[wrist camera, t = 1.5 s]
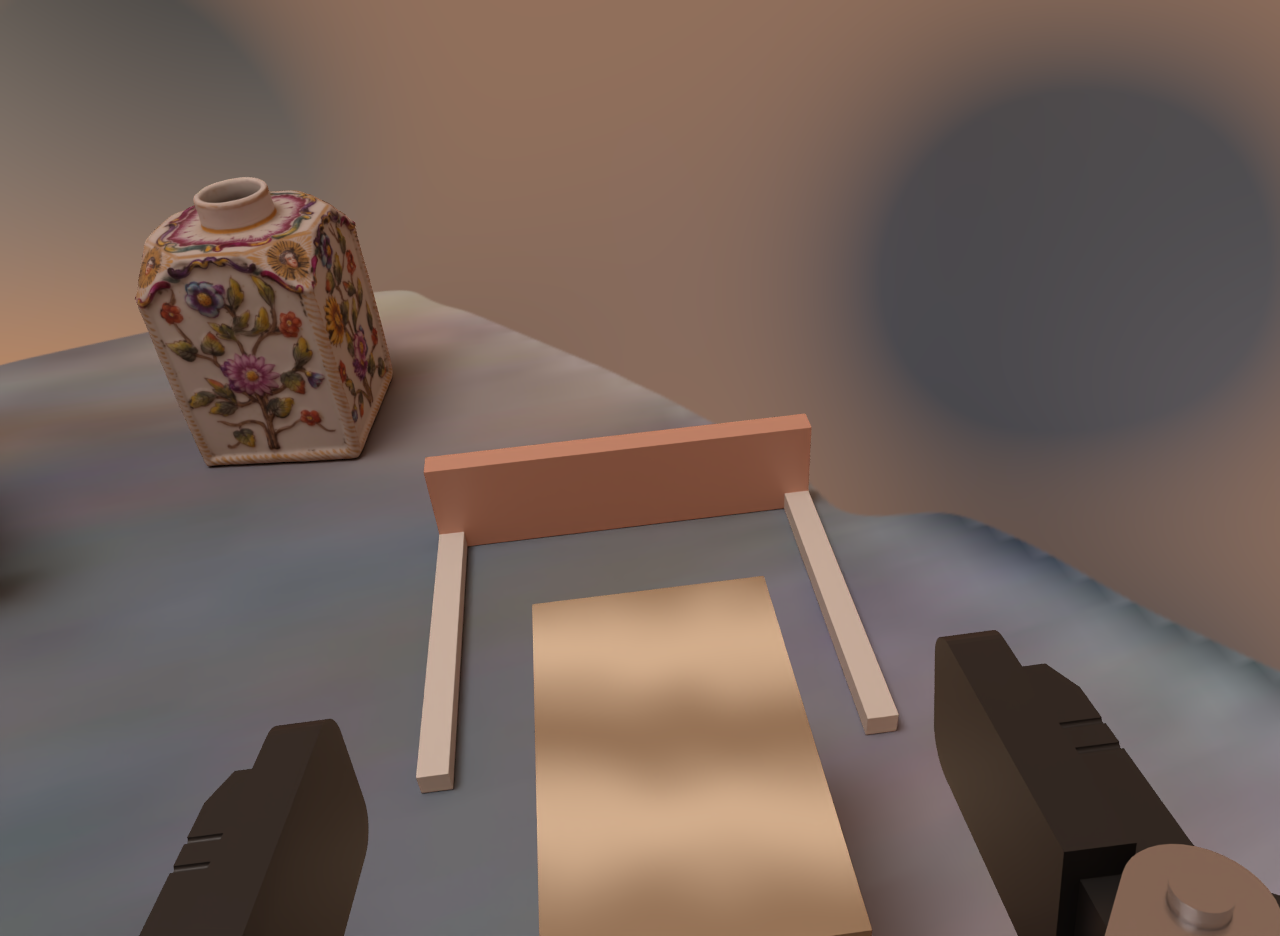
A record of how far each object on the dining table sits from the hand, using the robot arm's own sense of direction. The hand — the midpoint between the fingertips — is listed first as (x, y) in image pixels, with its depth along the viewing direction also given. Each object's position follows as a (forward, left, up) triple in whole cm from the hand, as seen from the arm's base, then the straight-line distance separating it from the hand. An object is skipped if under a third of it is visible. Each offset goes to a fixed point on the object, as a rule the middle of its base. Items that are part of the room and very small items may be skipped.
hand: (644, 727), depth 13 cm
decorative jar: (+54, +22, -29) cm, 65 cm away
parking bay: (+29, -1, -28) cm, 41 cm away
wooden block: (+11, -1, -28) cm, 31 cm away
